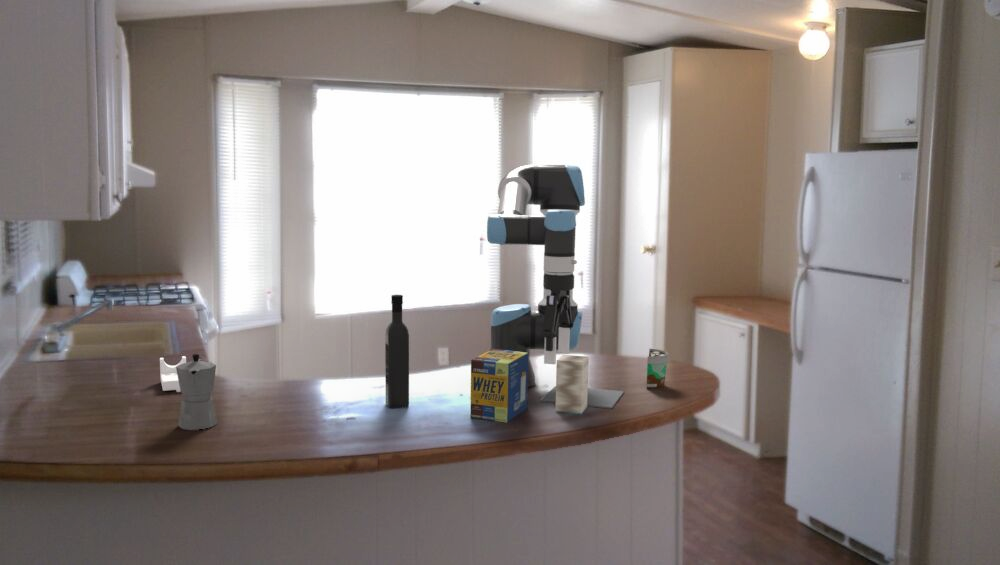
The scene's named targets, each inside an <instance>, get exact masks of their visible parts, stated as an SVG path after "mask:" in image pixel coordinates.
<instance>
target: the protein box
mask: <svg viewBox="0 0 1000 565" xmlns="http://www.w3.org/2000/svg"><path fill="white" fill-rule="evenodd" d="M527 385H528V353H526V352H518V351H510V350H501V349H491V348H490V350H488V351H486V352H484V353H482V354H479V355H477V356H476V357H475V358H471V360H470V418H471V419H477V420H484V421H493V422H498V423H499V422H501V423H506V424H507V423H509V422H510V421H512V420H513V419H515V417H517V416H518V415H519V414H521V413H523V411H526V409H527V408H528V388H527Z"/></svg>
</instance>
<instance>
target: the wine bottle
mask: <svg viewBox="0 0 1000 565" xmlns="http://www.w3.org/2000/svg"><path fill="white" fill-rule="evenodd" d="M390 297H391V322H390V323H389V324H388V325H387V327H386V329H385V338H384V340H385V344H384V345H385V355H384V357H385V360H384V361H385V404H386V406H387V407H388V408H389V409H398V408H399V409H401V408H407V407H409V406H410V333H409V329H408V327H407V326H406V324H405V323H404V322H403V304H404V302H403V299H404V298H403V297H404V296H403V294H392V295H391V296H390Z"/></svg>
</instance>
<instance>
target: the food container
mask: <svg viewBox="0 0 1000 565" xmlns="http://www.w3.org/2000/svg"><path fill="white" fill-rule="evenodd" d="M648 351H649V352H648V356H647V360H646V361H647V364H646V366H647V368H646V371H647V372H646V390H661V389H663V388H665V383H666V374H667V368H668V366H667V365H668V362H670V356H669V354H668V351H665V350H663V349H658V348H649V350H648Z"/></svg>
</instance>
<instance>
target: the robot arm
mask: <svg viewBox="0 0 1000 565" xmlns="http://www.w3.org/2000/svg"><path fill="white" fill-rule="evenodd" d="M584 188H585V186H584V179H583V174H582V169H581V168H580V167H579V166H578V165H577V166H576V165H568V164H527V165H522V166H519V167H516V168H515V169H513V170H511V171H510V172H507V174H506V175H505V176H504V177H503V178H502V179H501V180H500V182H499V185H498V189H497V195H498V199H499V201H498V202H499V203H498V209H497V214H490V215H489V216H487V223H486V239H487V242H488V243H489V244H492V245H493V244H494V245H500V246H505V245H511V246H512V245H515V246H516V245H518V246H520V245H522V246H523V245H524V246H527V245H528V246H529V245H530V246H544V251H543V284H542V285H543V286H542V287H543V295H542V296H543V298H542V299H541V300H540V301H539V302H538V303H537V309H532V307H531V304H528V303H527V304H526V303H514V304H508V305H502V306H499V307H497V308H495V309H493V311H491V318H490V324H489V327H490V350H491V349H501V350H510V351H518V352H526V353H528V385H527V389H528V388H531V387H533V386H535V384H536V374H535V371H534V368H533V365H532V362H531V358H530V355H531V354H530V353H531V351H530V350H542V351H543V350H544V352H543V355H544V356H543V364H545V365H557V351H558V354H564V355H569V354H570V351H573V350H575V349H576V348H577V347H578V345H579V339H580V333H581V327H582V319H583V312H582V311H581V310H579V308H578V306H579V305H578V303H577V302H576V301H575V299H574V298H573V296H574V295H573V294H574V292H573V291H574V288H575V275H574V273H575V265H576V264H577V263H578V261H577V260H576V259H575V253H576V252H575V250H576V226H577V219H576V216H577V215H579V213H580V212H581V211H580V208H581V207H582V206H583V207H584V206H585V204H586V199H585V189H584ZM528 205H535V206H537V205H538V206H540V207H539V212H540V213H541V214H542V215H538V214H537V215H535V214H534V215H533V214H532V215H530V214H529V215H527V206H528Z"/></svg>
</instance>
